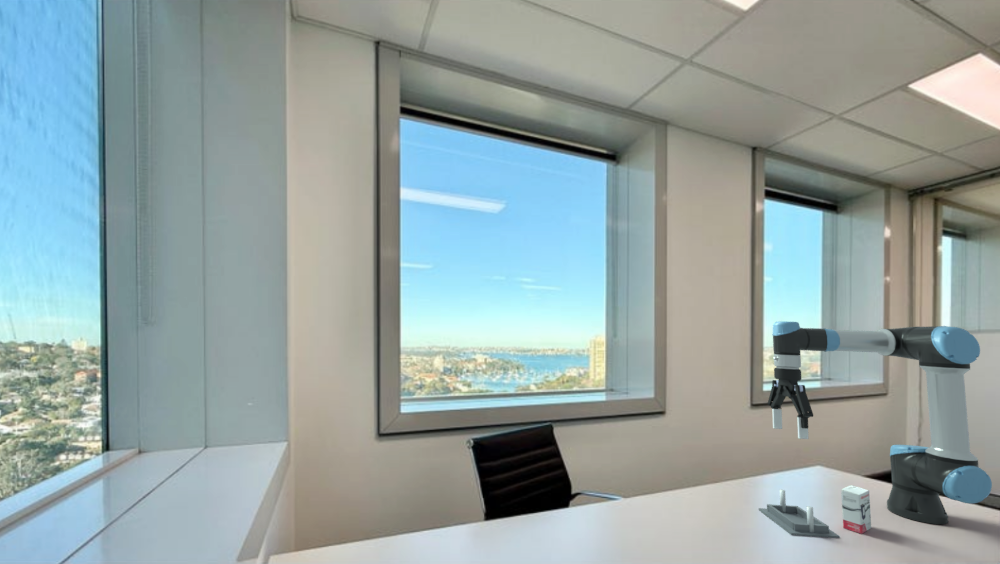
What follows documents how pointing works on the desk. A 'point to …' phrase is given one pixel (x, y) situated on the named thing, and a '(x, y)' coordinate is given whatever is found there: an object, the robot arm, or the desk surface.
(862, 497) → the ink box
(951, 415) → the robot arm
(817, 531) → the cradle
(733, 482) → the desk surface
